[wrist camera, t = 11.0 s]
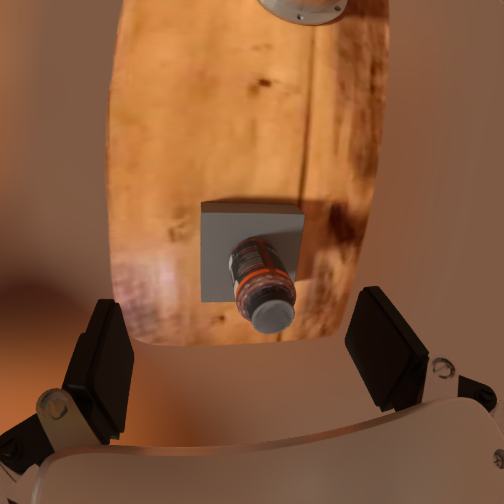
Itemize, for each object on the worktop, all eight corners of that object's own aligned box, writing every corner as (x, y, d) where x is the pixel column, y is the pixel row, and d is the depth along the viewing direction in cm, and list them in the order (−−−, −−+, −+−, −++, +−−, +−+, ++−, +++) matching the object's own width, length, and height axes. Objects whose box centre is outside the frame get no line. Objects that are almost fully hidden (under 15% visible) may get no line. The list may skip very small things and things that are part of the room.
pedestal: (201, 202, 36) (201, 212, 32) (295, 204, 38) (305, 214, 34) (200, 285, 41) (201, 302, 37) (284, 283, 43) (291, 299, 39)
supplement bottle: (217, 265, 35) (225, 327, 25) (247, 226, 34) (268, 278, 24) (256, 287, 38) (276, 350, 28) (286, 252, 36) (318, 307, 26)
